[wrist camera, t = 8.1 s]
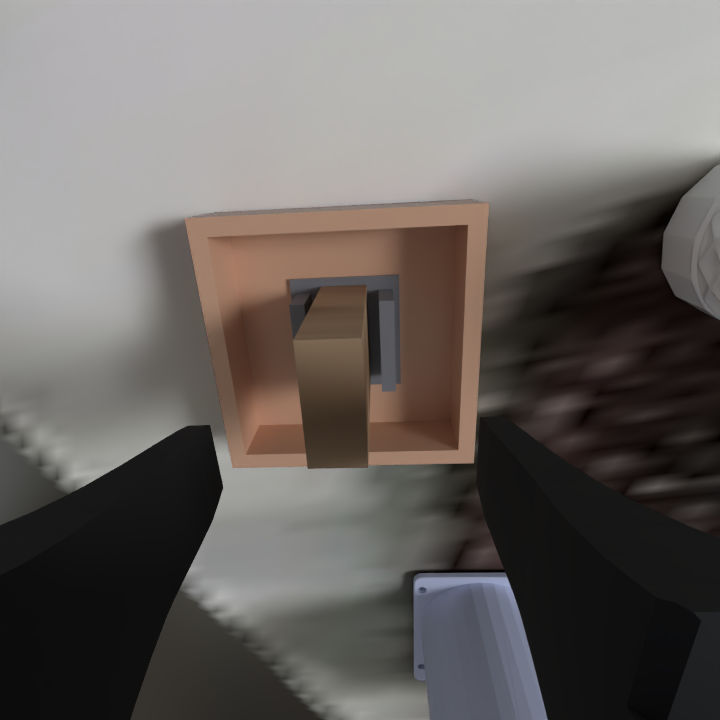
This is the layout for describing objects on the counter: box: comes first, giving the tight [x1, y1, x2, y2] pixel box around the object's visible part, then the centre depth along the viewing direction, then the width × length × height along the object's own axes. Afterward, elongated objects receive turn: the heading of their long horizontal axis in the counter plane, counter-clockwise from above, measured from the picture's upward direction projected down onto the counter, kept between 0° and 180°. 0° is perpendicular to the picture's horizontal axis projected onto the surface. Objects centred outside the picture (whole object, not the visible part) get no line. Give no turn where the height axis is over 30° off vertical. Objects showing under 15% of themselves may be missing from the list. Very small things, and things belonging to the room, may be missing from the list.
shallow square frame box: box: [185, 199, 489, 468], centre depth 19 cm, size 11×11×3 cm
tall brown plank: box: [293, 285, 371, 469], centre depth 17 cm, size 4×2×7 cm, turn 3°
